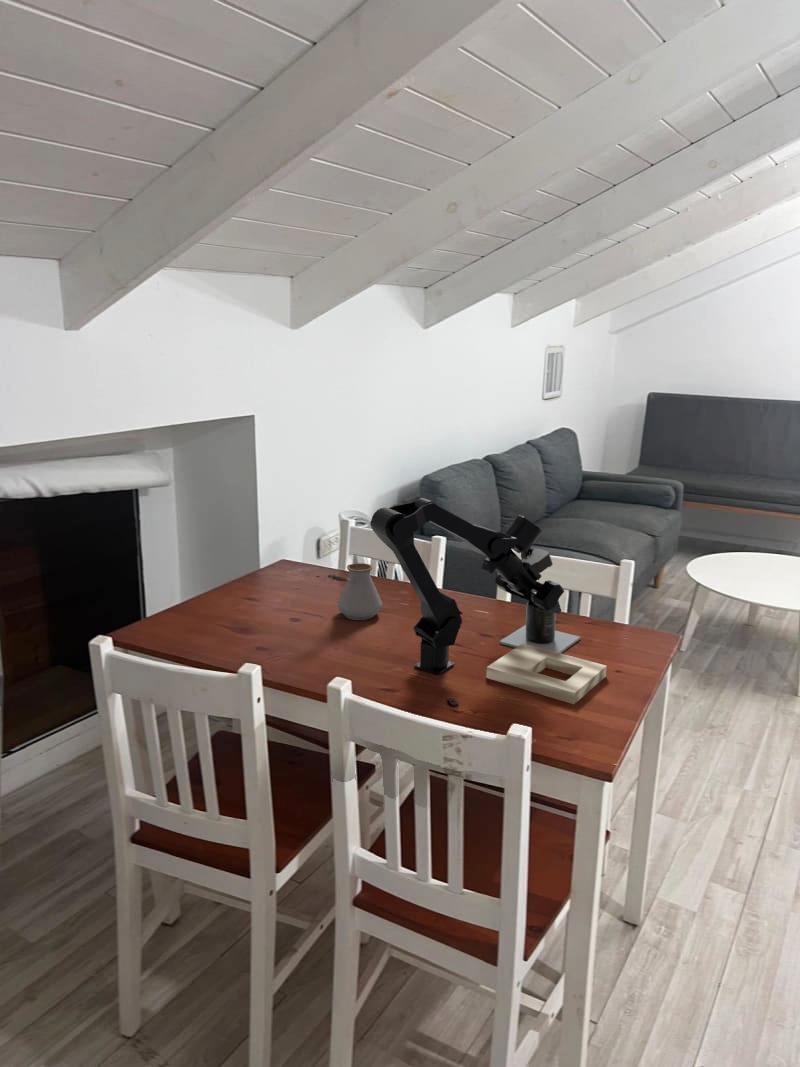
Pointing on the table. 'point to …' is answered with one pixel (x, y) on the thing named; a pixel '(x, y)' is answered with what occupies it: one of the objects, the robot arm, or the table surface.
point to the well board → (530, 660)
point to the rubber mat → (557, 645)
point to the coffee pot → (358, 593)
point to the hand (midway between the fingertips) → (546, 606)
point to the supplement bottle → (539, 623)
